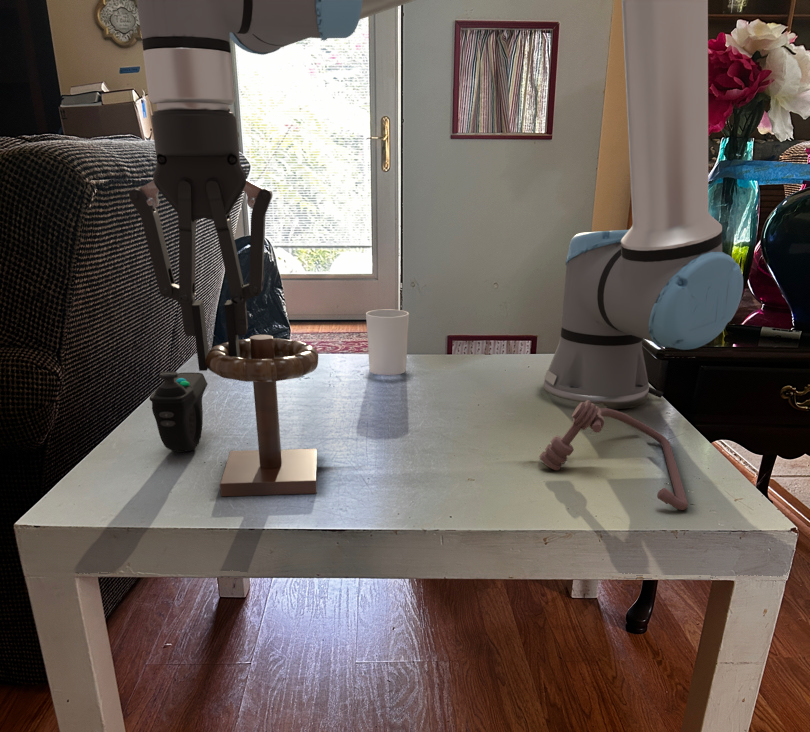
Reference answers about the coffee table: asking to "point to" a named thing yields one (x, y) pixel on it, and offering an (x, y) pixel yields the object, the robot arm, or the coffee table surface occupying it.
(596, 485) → the coffee table surface
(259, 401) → the stand
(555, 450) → the toilet paper hanger
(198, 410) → the controller
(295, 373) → the ring
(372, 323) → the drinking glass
